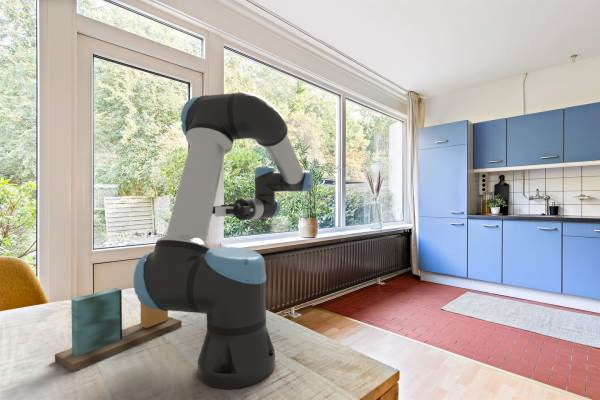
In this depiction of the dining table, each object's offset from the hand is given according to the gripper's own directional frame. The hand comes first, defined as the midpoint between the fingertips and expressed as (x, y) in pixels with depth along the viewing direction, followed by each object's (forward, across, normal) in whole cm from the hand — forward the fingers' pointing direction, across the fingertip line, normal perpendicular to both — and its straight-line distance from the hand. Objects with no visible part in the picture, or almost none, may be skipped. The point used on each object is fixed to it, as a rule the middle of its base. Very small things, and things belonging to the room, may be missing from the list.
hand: (199, 211), depth 91 cm
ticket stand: (+21, +1, -30) cm, 37 cm away
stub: (+14, +1, -28) cm, 31 cm away
